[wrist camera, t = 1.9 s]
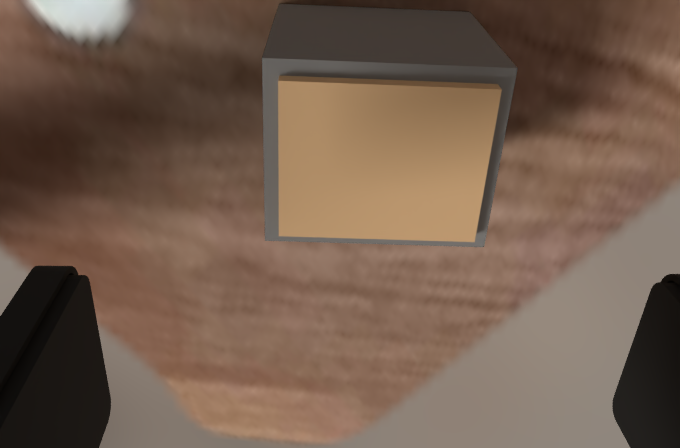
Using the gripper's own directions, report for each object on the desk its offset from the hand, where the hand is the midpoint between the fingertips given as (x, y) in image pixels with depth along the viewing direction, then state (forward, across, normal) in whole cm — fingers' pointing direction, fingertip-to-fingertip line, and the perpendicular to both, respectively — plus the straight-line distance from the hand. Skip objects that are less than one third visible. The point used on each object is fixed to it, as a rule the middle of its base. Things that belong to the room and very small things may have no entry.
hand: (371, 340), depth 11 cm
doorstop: (+12, -1, 0) cm, 13 cm away
